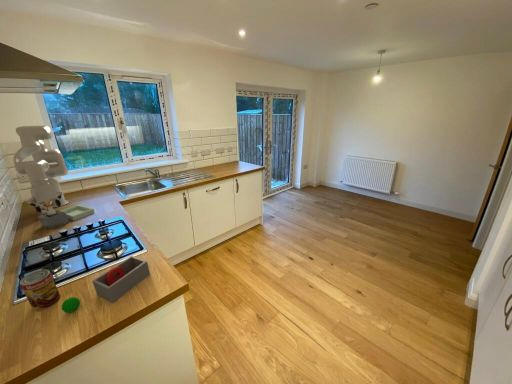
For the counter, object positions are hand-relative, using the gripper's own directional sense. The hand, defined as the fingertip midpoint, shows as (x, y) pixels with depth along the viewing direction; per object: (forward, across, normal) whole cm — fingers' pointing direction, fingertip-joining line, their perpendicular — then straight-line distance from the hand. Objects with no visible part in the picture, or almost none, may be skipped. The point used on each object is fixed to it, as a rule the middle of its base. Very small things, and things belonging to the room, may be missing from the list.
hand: (49, 209), depth 134 cm
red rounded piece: (+13, +15, +88) cm, 91 cm away
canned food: (+13, +35, +70) cm, 80 cm away
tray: (+11, -15, -4) cm, 19 cm away
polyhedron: (+13, +33, +84) cm, 91 cm away
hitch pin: (+9, 0, 0) cm, 9 cm away
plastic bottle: (+11, -6, -22) cm, 26 cm away
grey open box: (+13, +17, +90) cm, 92 cm away
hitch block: (+11, 0, 0) cm, 11 cm away
